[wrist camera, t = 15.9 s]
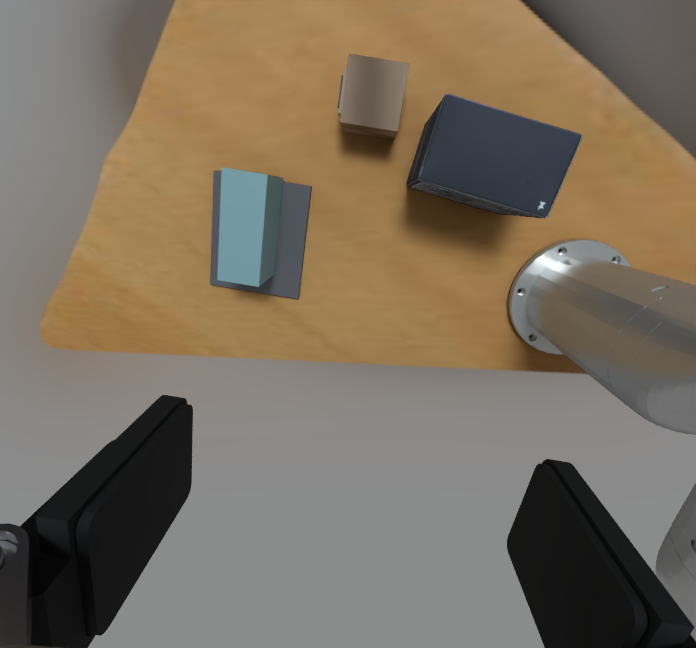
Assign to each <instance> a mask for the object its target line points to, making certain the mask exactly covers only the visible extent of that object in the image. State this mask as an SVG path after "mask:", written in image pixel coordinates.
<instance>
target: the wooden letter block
mask: <svg viewBox="0 0 696 648" xmlns="http://www.w3.org/2000/svg"><path fill="white" fill-rule="evenodd" d="M409 65H410V64H409V63H403V62H397V61H391V60H385V59H379V58H373V57H367V56H361V55H355V54H349V56H348V64H347V68H344V74H343V75H342V79H341V87H340V95H339V102H338V108H339V112H338V113H339V116H340V124H341V126H342V129H343V131H344V132H350V133H356V134H362V135H368V136H374V137H380V138H386V139H392V140H394V139H395V136H396V134H397V131H398V125H399V120H400V114H401V109H402V103H403V98H404V92H405V87H406V81H407V76H408V70H409Z"/></svg>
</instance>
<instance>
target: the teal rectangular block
mask: <svg viewBox="0 0 696 648" xmlns="http://www.w3.org/2000/svg"><path fill="white" fill-rule="evenodd" d="M282 184H283V178H280V177H276V176H271V175H266V174H259V173H253V172H247V171H241V170H235V169H229V168H223V167H222V173H221V198H220V224H219V249H218V275H217V280H220V281H226V282H232V283H238V284H244V285H250V286H256V287H259V286H261V285H262V284H263V283H264V282H266V281H267V280H268V279H269V278H270V277H272V276H273V275H274V272H275V261H276V250H277V239H278V228H279V217H280V206H281V195H282Z"/></svg>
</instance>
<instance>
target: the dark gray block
mask: <svg viewBox="0 0 696 648" xmlns="http://www.w3.org/2000/svg"><path fill="white" fill-rule="evenodd" d="M221 173H222V172H221V171H215V170H214V184H213V215H212V246H211V277H210V285H216V286H222V287H229V288H235V289H241V290H247V291H253V292H259V293H265V294H271V295H277V296H283V297H289V298H295V299H298V298H299V293H300V284H301V275H302V266H303V258H304V249H305V240H306V232H307V223H308V214H309V206H310V197H311V188H312V186H306V185H300V184H294V183H288V182H283V184H282V195H281V206H280V217H279V228H278V239H277V250H276V261H275V272H274V275H273V276H272V277H270V278H269V279H268V280H267V281H266V282H264V283H263V284H262V285H261V286H259V287H256V286H250V285H244V284H238V283H232V282H226V281H220V280H217V275H218V249H219V224H220V198H221Z"/></svg>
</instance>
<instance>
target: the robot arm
mask: <svg viewBox="0 0 696 648" xmlns="http://www.w3.org/2000/svg"><path fill="white" fill-rule="evenodd" d="M559 249H560V252H558V250H559ZM612 258H613V259H612ZM518 289H520V291H519V292H517V291H518ZM508 307H509V315H510V319H511V322H512V324H513V326H514V328H515V330H516V332H517V333H518V334H519V335H520V336H521V338H522V339H523V340H524V341H526V342H527V343H528V344H529V345H531V346H532V347H534V348H536V349H537V350H540V351H543V352H546V353H550V354H556V355H566V356H567V357H568V358H569V359H571V360H572V361H573V362H574V363H575V364H577V365H578V366H579V367H580V368H582V369H583V370H584V371H585V372H586V373H588V374H589V375H590V376H591V377H593V378H594V379H595V380H596V381H598V382H599V383H600V384H601V385H602V386H604V387H605V388H606V389H607V390H608V391H610V392H611V393H612V394H613V395H615V396H616V397H617V398H618V399H620V400H621V401H622V402H623V403H624V404H626V405H627V406H629V407H630V408H631V409H632V410H633V411H635V412H636V413H637V414H639V415H640V416H642V417H643V418H645V419H646V420H648V421H650V422H652V423H654V424H656V425H658V426H661V427H663V428H667V429H670V430H673V431H676V432H681V433H686V434H695V435H696V285H693V284H690V283H686V282H682V281H679V280H675V279H672V278H668V277H664V276H661V275H657V274H653V273H650V272H646V271H642V270H639V269H635V268H631V265H630V264H629V262H628V261H627V259H626V258H625V257H624V255H622V254H621V253H620V252H619V251H618V250H617V249H615V248H613V247H611V246H609V245H607V244H605V243H602V242H598V241H594V240H588V239H571V240H566V241H561V242H558V243H556V244H553V245H551V246H548V247H546V248H545V249H543V250H541V251H540V252H538V253H537V254H535V255H534V256H533V257H532V258H531V259H530V260H528V261H527V263H526V264H525V265H524V266H523V267H522V269H521V270H520V271H519V273H518V274H517V276H516V278H515V280H514V282H513V284H512V287H511V290H510V294H509V301H508ZM530 335H531V336H530ZM529 336H530V337H529ZM192 419H193V408H192V406H191V405H188V404H187V401H186V399H185V398H180V397H174V396H168V395H162V396H161V397H160V398H159V399H157V400H156V401H155V402H154V403H153V404H152V405H151V406H150V407H149V408H148V409H147V410H146V411H145V412H144V413H143V414H142V415H141V416H140V417H139V418H138V419H136V421H134V422H133V423H132V424H131V425H130V426H129V427H128V428H127V429H126V430H125V431H124V432H123V433H122V434H121V435H120V436H119V437H118V438H117V439H116V440H114V441H111V442H110V443H109V444H107V445H106V446H105V447H104V448H103V449H102V450H101V451H100V452H99V453H98V454H96V455H95V456H94V457H93V458H92V459H91V460H90V461H89V462H88V463H87V464H86V465H85V466H84V467H83V468H82V469H81V470H79V471H78V472H77V473H76V474H75V475H74V476H73V477H72V478H71V479H70V480H69V481H68V482H67V483H66V484H65V485H64V486H63V487H61V488H60V489H59V490H58V491H57V492H56V493H55V494H54V495H53V496H52V497H51V498H50V499H49V500H48V501H47V502H46V503H44V504H43V505H42V506H41V507H40V508H39V509H38V510H37V511H36V512H35V513H34V514H33V515H32V516H31V517H30V518H29V519H27V521H25V522H24V523H23V524H22V525H21V526H17V525H13V524H0V648H88V646H89V644H90V643H91V641H92V640H93V638H94V637H95V635H102V634H104V632H105V631H106V630H107V629H108V627H109V626H110V624H111V623H112V621H113V619H114V618H115V616H116V614H117V612H118V611H119V609H120V608H121V606H122V604H123V603H124V601H125V599H126V598H127V596H128V595H129V593H130V591H131V589H132V588H133V586H134V585H135V583H136V581H137V580H138V578H139V576H140V575H141V573H142V572H143V570H144V568H145V566H146V565H147V563H148V562H149V560H150V558H151V557H152V555H153V553H154V552H155V550H156V549H157V547H158V545H159V543H160V542H161V540H162V539H163V537H164V535H165V534H166V532H167V530H168V529H169V527H170V525H171V524H172V522H173V521H174V519H175V517H176V515H177V514H178V512H179V511H180V509H181V507H182V506H183V504H184V502H185V501H186V499H187V497H188V495H189V492H190V488H191V478H192V477H191V476H192V422H193V421H192ZM507 549H508V553H509V556H510V558H511V561H512V563H513V566H514V569H515V571H516V574H517V577H518V579H519V582H520V584H521V586H522V589H523V592H524V595H525V597H526V600H527V603H528V605H529V607H530V610H531V613H532V616H533V618H534V621H535V623H536V626H537V628H538V631H539V634H540V636H541V639H542V641H543V644H544V647H545V648H696V484H695V485H694V487H693V489H692V491H691V492H690V494H689V496H688V497H687V499H686V501H685V502H684V504H683V506H682V508H681V509H680V511H679V513H678V514H677V516H676V518H675V520H674V521H673V523H672V526H671V528H670V529H669V531H668V533H667V535H666V537H665V539H664V541H663V543H662V545H661V548H660V550H659V553H658V556H657V560H656V575H655V574H654V572H653V571H652V570H651V568H650V567H649V566H648V565H647V563H646V562H645V560H644V559H643V558H642V557H641V555H640V554H639V552H638V551H637V550H636V549H635V547H634V546H633V544H632V543H631V542H630V540H629V539H628V538H627V537H626V535H625V534H624V532H623V531H622V530H621V529H620V527H619V526H618V525H617V523H616V522H615V521H614V519H613V518H612V517H611V515H610V514H609V513H608V511H607V510H606V509H605V507H604V506H603V505H602V503H601V502H600V501H599V499H598V498H597V497H596V495H595V494H594V493H593V491H592V490H591V489H590V487H589V486H588V485H587V483H586V482H585V481H584V479H583V478H582V477H581V476H580V474H579V473H578V471H577V470H576V469H575V467H574V466H573V465H572V464H571V463H568V462H562V461H556V460H550V459H547V460H545V461H543V463H542V464H538V465H537V466H536V468H535V470H534V473H533V475H532V478H531V480H530V483H529V485H528V488H527V490H526V493H525V495H524V498H523V500H522V503H521V505H520V508H519V510H518V513H517V515H516V518H515V521H514V523H513V526H512V528H511V530H510V533H509V536H508V539H507Z"/></svg>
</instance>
